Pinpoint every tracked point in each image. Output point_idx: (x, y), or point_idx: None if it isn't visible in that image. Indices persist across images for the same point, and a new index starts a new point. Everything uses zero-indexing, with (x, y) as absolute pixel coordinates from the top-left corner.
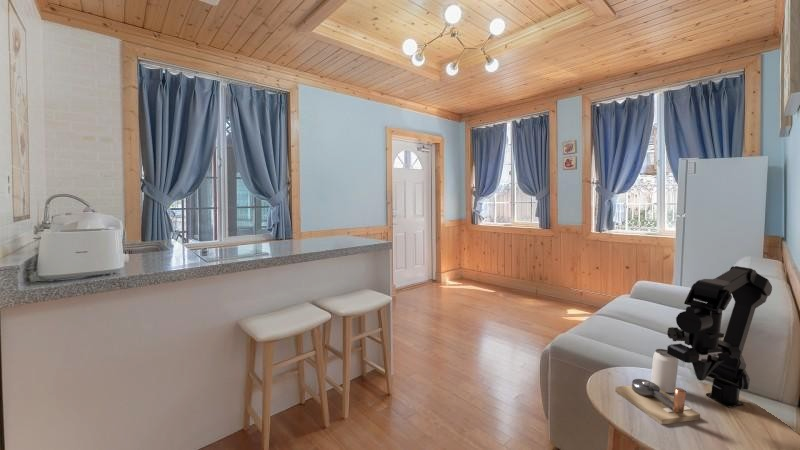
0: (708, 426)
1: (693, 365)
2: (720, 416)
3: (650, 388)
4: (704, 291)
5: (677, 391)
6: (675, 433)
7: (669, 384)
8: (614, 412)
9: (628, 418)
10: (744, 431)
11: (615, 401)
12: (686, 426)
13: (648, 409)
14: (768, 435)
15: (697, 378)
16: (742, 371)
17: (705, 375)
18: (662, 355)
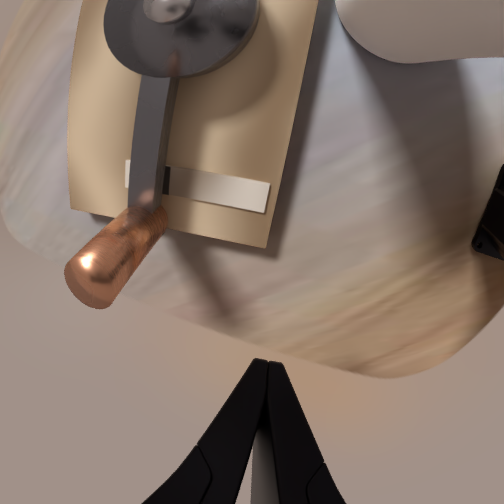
0: (248, 272)
1: (179, 467)
2: (377, 260)
3: (159, 43)
4: None
5: (67, 279)
6: None
7: (380, 43)
8: (5, 106)
9: (19, 142)
10: (341, 328)
11: (46, 43)
12: (161, 239)
13: (70, 144)
14: (380, 355)
15: (251, 363)
16: None
17: (254, 442)
18: None
